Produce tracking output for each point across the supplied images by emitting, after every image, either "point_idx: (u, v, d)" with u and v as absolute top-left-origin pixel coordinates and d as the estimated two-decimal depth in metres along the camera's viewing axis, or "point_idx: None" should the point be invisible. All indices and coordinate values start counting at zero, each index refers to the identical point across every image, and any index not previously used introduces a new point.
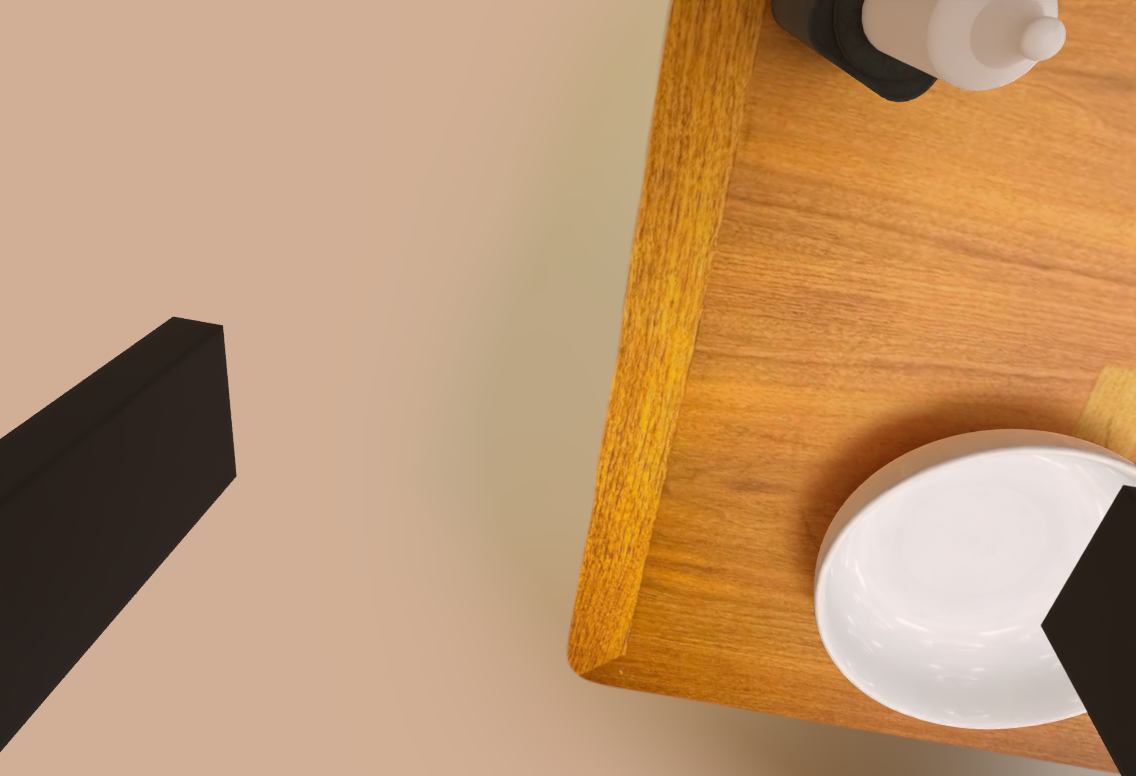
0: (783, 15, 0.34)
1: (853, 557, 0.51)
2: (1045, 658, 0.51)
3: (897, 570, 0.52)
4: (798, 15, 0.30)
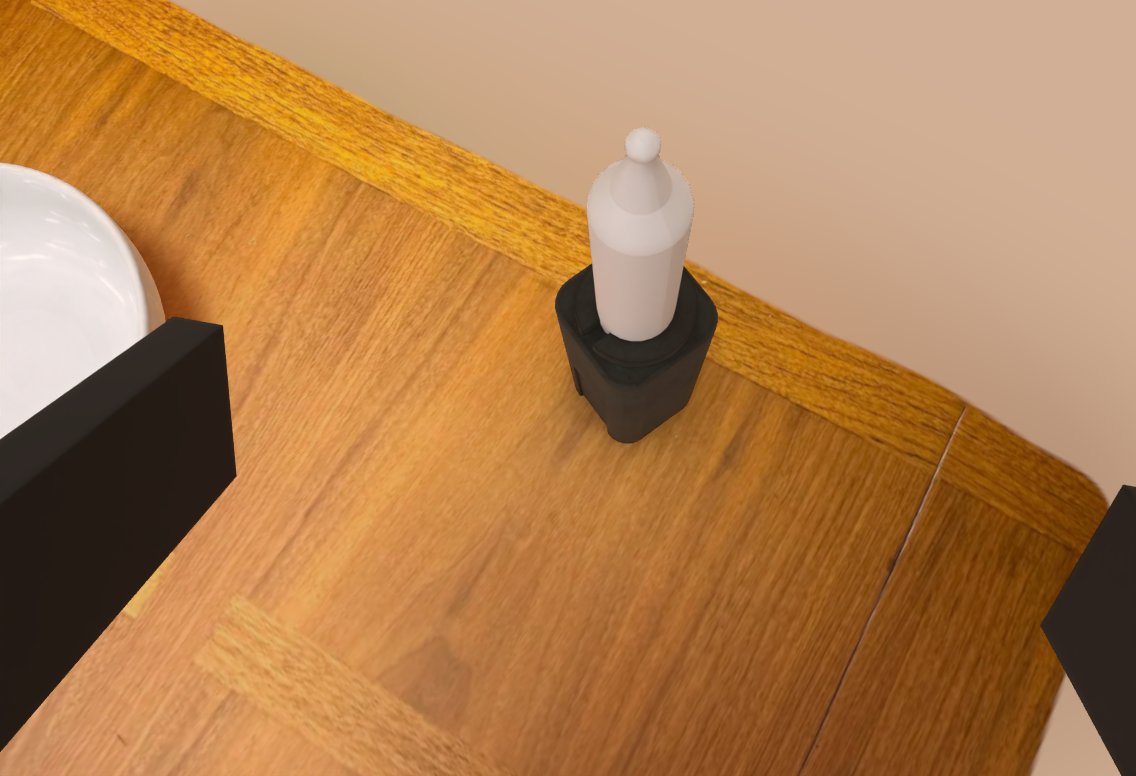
0: None
1: (55, 255, 0.45)
2: None
3: (16, 299, 0.45)
4: None
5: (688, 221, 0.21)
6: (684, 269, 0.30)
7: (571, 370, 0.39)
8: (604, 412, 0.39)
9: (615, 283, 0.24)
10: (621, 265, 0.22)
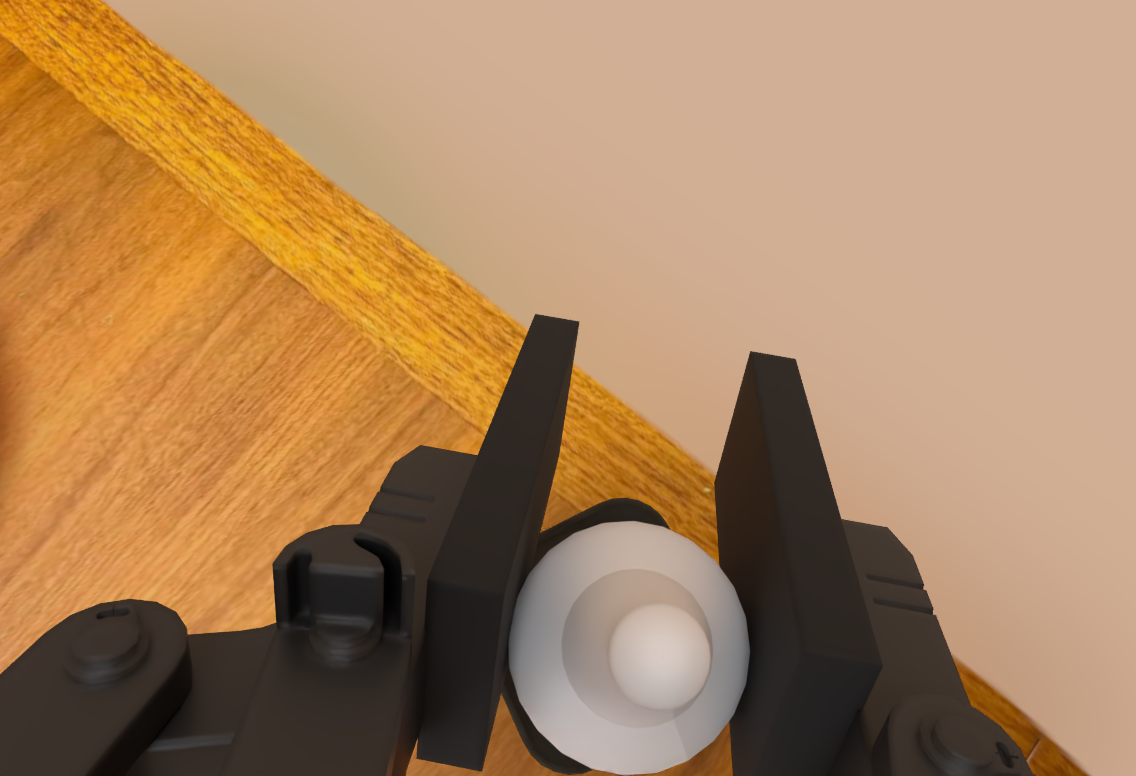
0: None
1: None
2: None
3: None
4: None
5: (732, 715, 0.09)
6: None
7: None
8: None
9: None
10: None
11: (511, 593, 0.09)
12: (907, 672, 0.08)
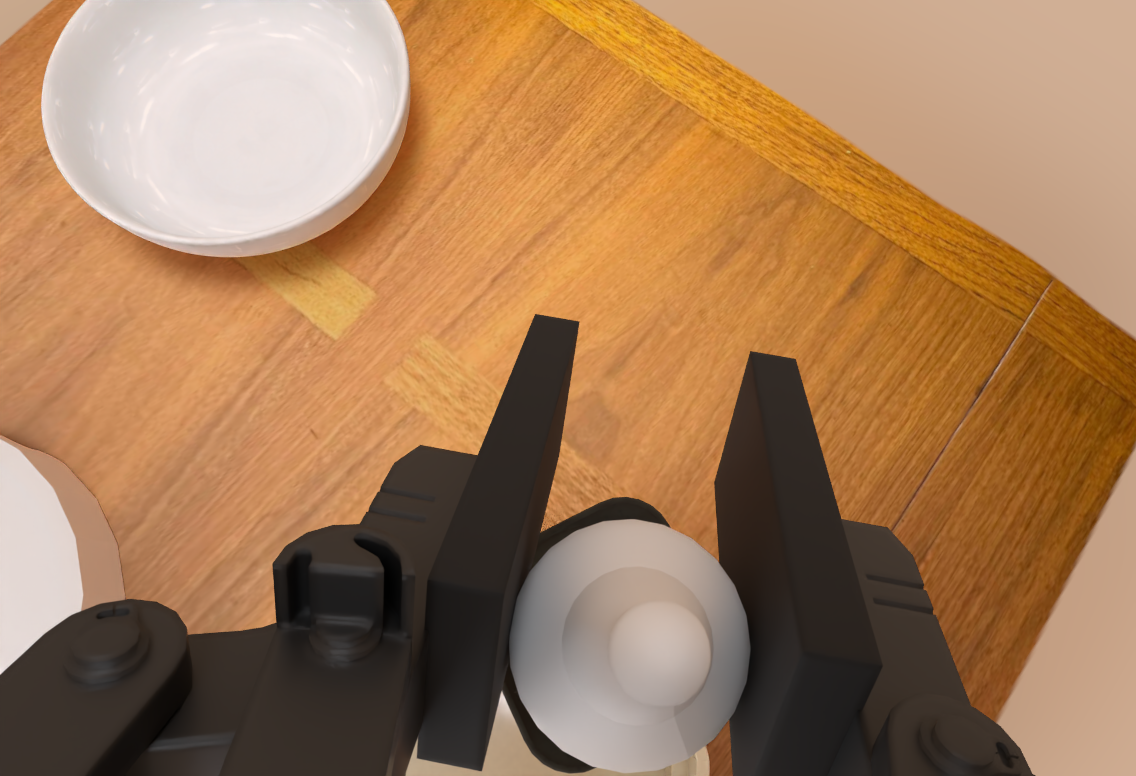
0: None
1: (307, 38, 0.52)
2: (100, 124, 0.48)
3: (266, 69, 0.52)
4: None
5: (732, 713, 0.09)
6: None
7: None
8: None
9: None
10: None
11: (511, 593, 0.09)
12: (906, 673, 0.08)
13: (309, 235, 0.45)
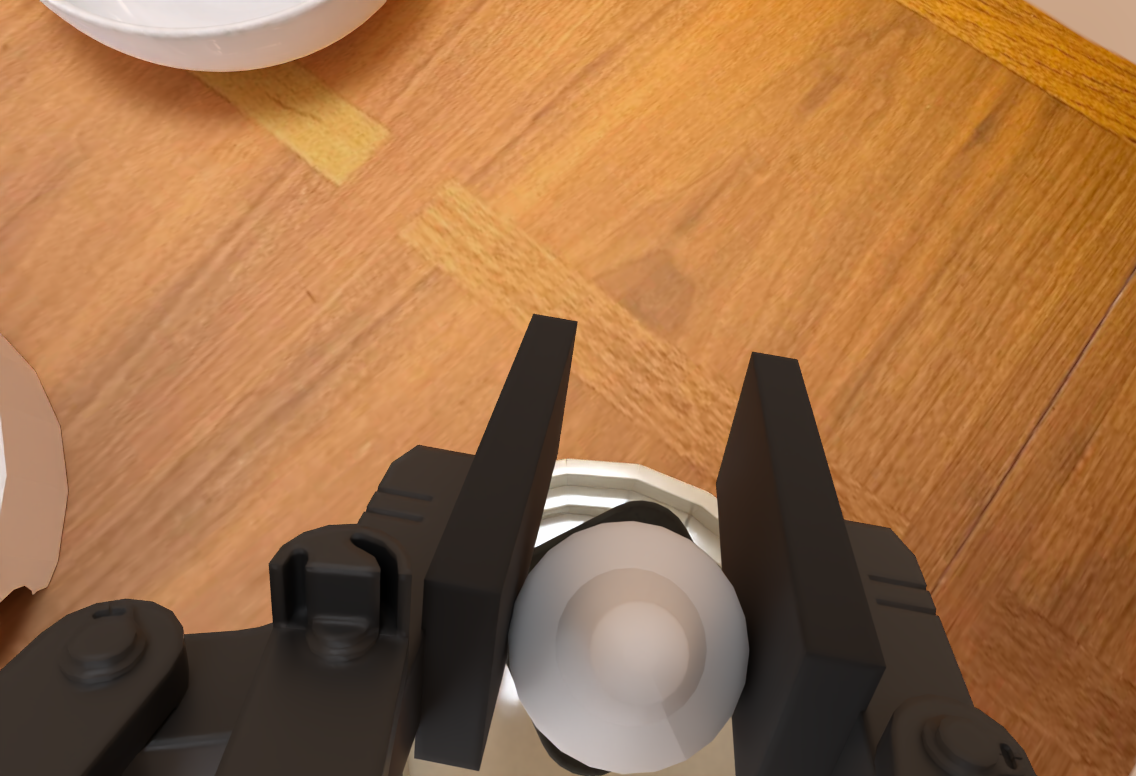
0: None
1: None
2: None
3: None
4: None
5: (730, 715, 0.09)
6: None
7: None
8: None
9: None
10: None
11: (508, 593, 0.09)
12: (910, 673, 0.08)
13: (307, 38, 0.36)
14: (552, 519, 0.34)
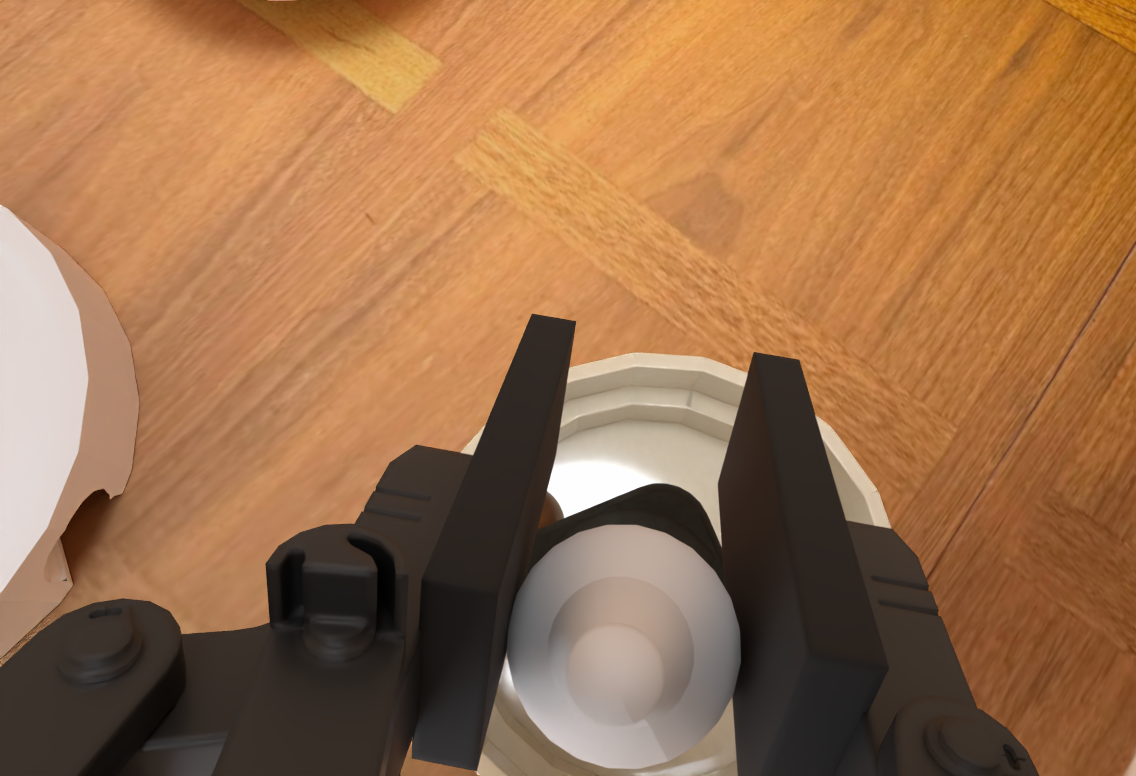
0: None
1: None
2: None
3: None
4: None
5: (715, 723, 0.09)
6: None
7: None
8: None
9: None
10: None
11: (506, 593, 0.09)
12: (912, 674, 0.08)
13: None
14: (612, 425, 0.35)
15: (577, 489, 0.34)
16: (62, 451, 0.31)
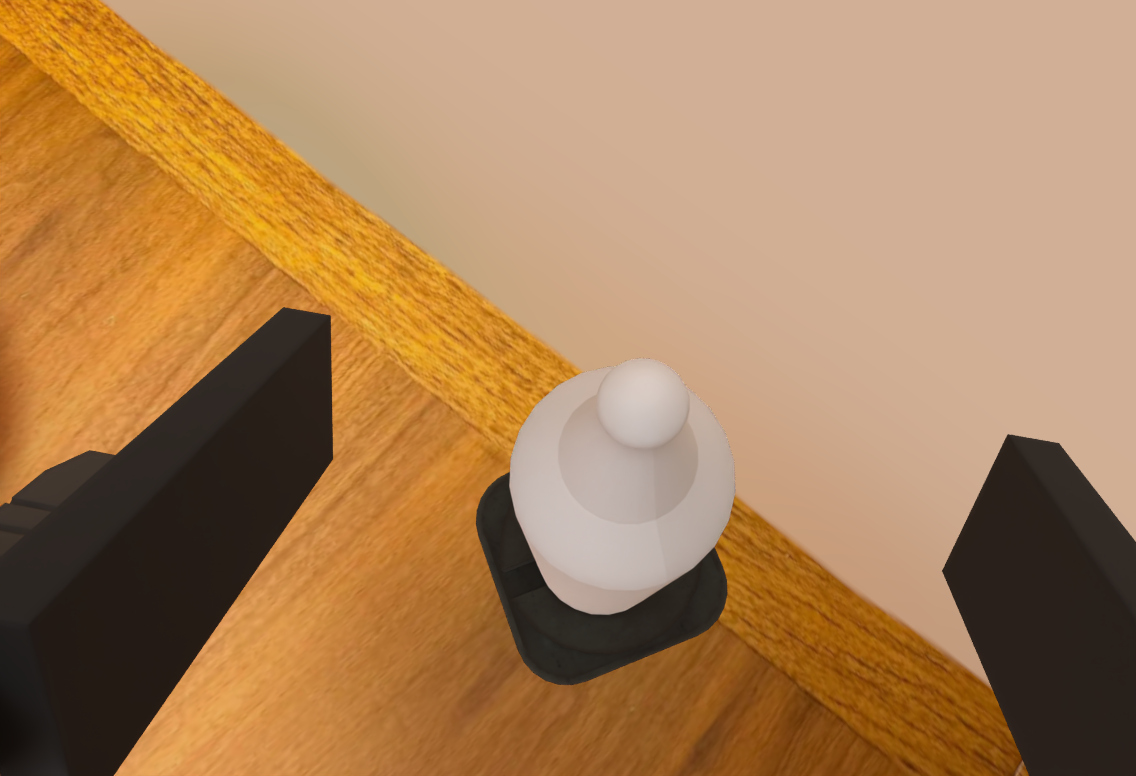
0: None
1: None
2: None
3: None
4: None
5: (712, 542, 0.10)
6: None
7: None
8: None
9: (548, 573, 0.12)
10: (555, 572, 0.11)
11: (101, 619, 0.08)
12: None
13: None
14: None
15: None
16: None
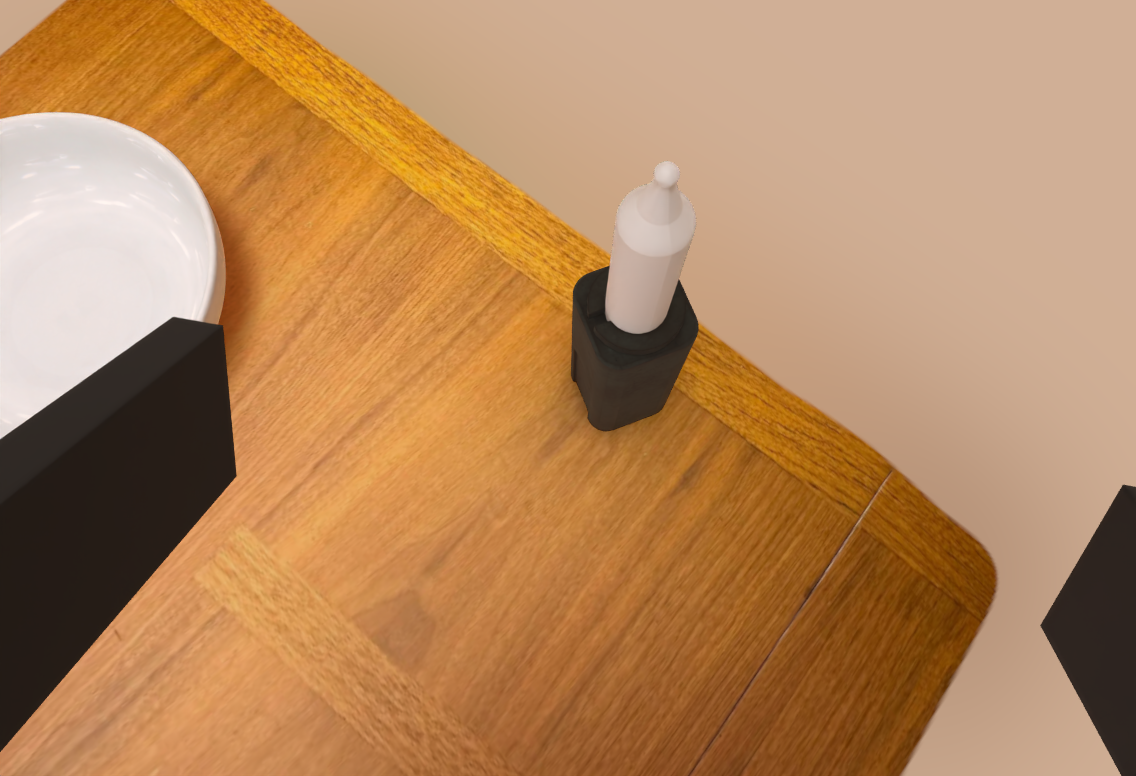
0: None
1: (136, 206, 0.51)
2: None
3: (93, 237, 0.51)
4: None
5: (687, 240, 0.28)
6: (682, 289, 0.38)
7: None
8: (589, 396, 0.46)
9: (623, 275, 0.31)
10: (630, 260, 0.29)
11: None
12: None
13: None
14: None
15: None
16: None
